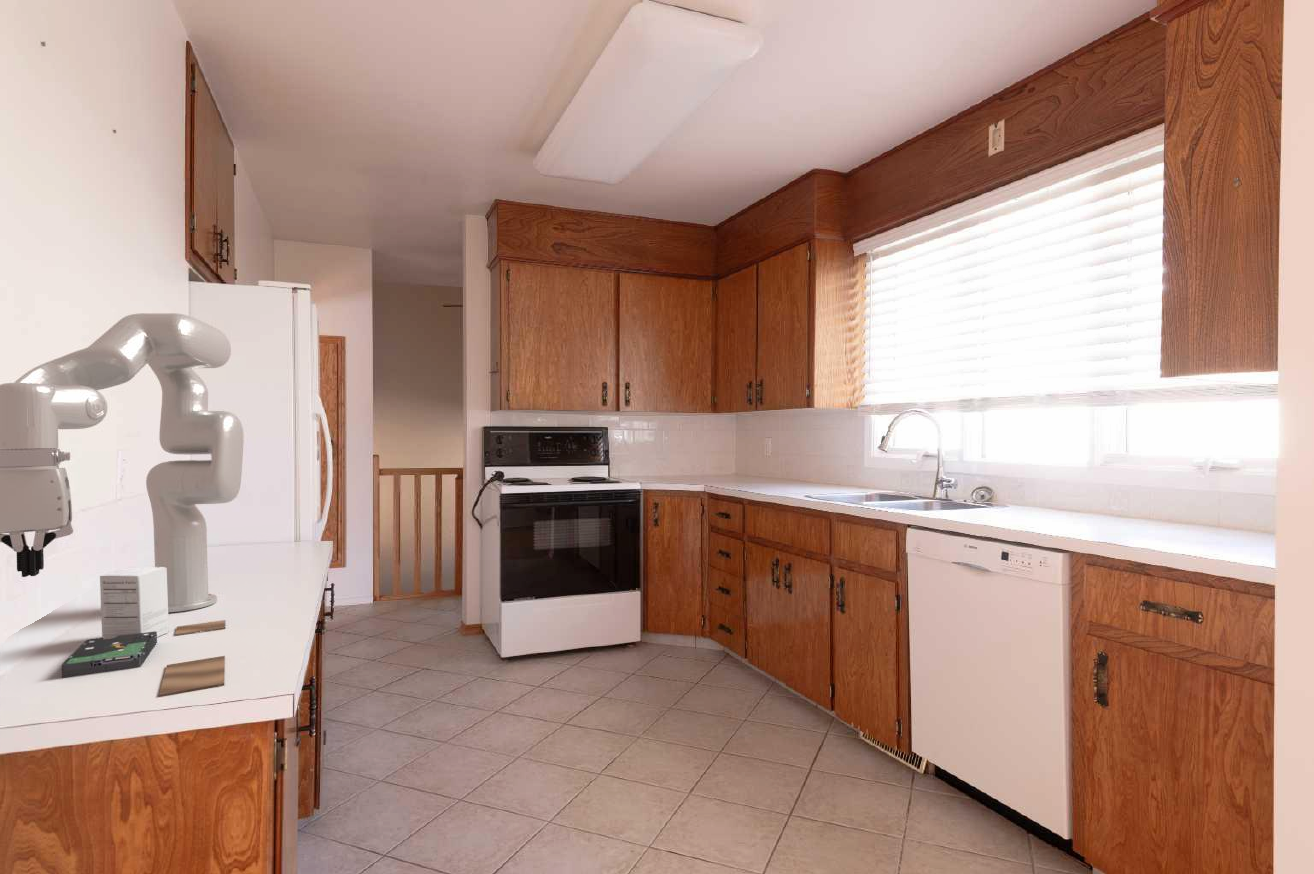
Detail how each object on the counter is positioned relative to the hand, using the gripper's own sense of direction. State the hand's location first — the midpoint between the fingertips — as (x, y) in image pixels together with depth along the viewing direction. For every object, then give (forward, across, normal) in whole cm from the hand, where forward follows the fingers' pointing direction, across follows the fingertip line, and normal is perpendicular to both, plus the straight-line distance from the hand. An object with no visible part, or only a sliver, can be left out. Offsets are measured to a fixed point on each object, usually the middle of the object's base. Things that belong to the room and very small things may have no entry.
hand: (30, 574), depth 113 cm
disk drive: (+16, -10, -1) cm, 19 cm away
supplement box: (+15, -12, -12) cm, 23 cm away
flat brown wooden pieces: (+15, -22, +4) cm, 27 cm away
